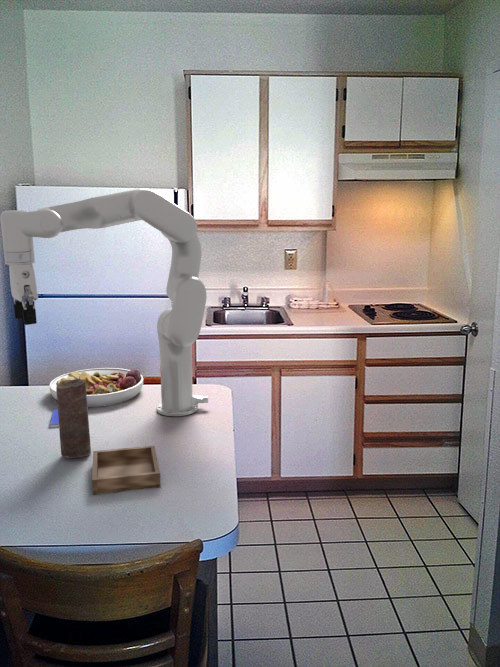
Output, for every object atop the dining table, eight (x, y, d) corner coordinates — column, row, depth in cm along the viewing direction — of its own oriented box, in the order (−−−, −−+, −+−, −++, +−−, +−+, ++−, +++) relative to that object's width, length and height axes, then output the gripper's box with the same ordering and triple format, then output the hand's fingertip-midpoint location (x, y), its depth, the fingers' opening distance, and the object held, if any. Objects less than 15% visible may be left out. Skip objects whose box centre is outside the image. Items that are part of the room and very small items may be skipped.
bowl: (49, 415, 189) (47, 390, 187) (51, 385, 217) (49, 363, 215) (149, 405, 197) (148, 381, 195) (138, 378, 225) (137, 357, 223)
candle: (82, 463, 155) (77, 386, 150) (55, 461, 156) (49, 384, 152) (96, 451, 162) (91, 377, 157) (70, 449, 163) (64, 375, 159)
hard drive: (79, 421, 179) (81, 407, 191) (49, 424, 178) (53, 409, 190) (79, 427, 180) (81, 412, 192) (49, 429, 178) (53, 414, 190)
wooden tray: (155, 458, 158) (154, 445, 157) (160, 487, 142) (160, 473, 142) (94, 464, 154) (93, 451, 154) (93, 494, 139) (92, 480, 138)
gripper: (42, 259, 160) (48, 324, 164) (26, 254, 174) (31, 314, 178) (12, 262, 156) (19, 328, 160) (-3, 256, 170) (4, 317, 174)
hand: (25, 320), depth 169 cm, fingers open, 9 cm apart
